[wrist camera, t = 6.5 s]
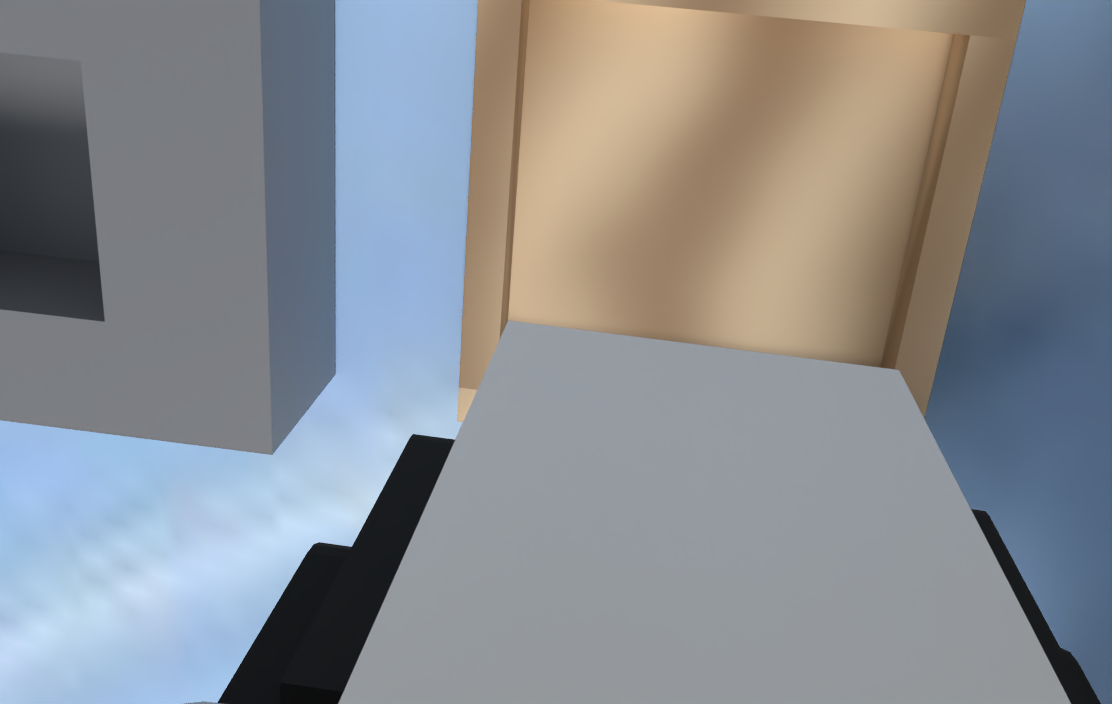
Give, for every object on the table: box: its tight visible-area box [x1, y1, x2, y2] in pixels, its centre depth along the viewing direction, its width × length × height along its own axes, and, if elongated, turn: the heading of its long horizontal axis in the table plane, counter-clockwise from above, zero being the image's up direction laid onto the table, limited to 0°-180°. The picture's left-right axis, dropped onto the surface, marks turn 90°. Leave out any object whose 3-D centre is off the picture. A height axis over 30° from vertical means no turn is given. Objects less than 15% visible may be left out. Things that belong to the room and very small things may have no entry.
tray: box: [457, 0, 1026, 422], centre depth 26 cm, size 12×12×2 cm
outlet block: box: [0, 0, 335, 455], centre depth 26 cm, size 14×12×5 cm
